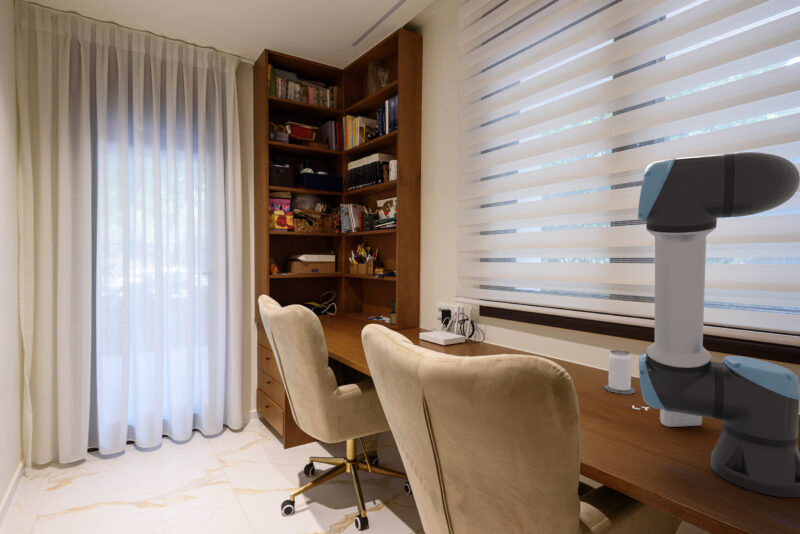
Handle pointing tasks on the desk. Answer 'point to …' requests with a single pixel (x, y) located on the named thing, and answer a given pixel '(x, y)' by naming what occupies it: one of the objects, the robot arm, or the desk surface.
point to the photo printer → (679, 419)
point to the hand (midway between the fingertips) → (682, 298)
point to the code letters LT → (642, 407)
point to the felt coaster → (619, 391)
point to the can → (620, 370)
